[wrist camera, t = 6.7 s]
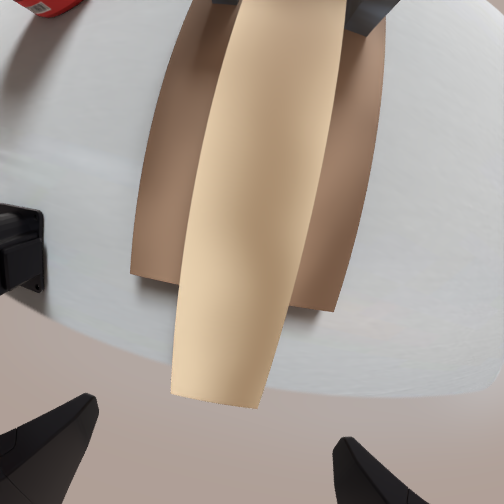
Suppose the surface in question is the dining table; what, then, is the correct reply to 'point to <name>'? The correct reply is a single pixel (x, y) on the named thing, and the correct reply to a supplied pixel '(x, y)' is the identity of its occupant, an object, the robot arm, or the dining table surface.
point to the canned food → (48, 6)
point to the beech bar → (254, 196)
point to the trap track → (193, 131)
